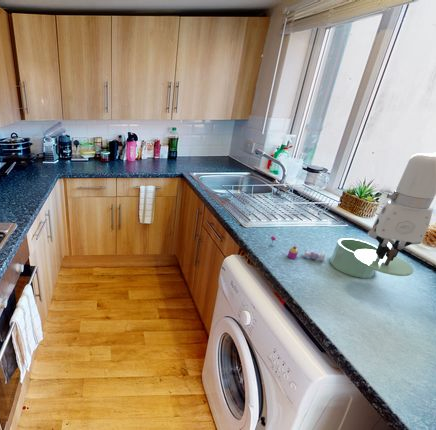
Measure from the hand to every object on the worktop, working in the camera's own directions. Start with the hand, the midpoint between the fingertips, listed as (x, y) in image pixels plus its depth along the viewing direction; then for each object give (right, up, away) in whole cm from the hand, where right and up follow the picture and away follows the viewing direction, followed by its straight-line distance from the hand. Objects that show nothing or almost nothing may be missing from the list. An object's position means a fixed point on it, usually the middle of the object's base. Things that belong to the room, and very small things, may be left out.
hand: (384, 257), depth 85 cm
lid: (0, -2, +1) cm, 2 cm away
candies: (-11, -3, +25) cm, 28 cm away
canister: (+5, -6, +18) cm, 20 cm away
